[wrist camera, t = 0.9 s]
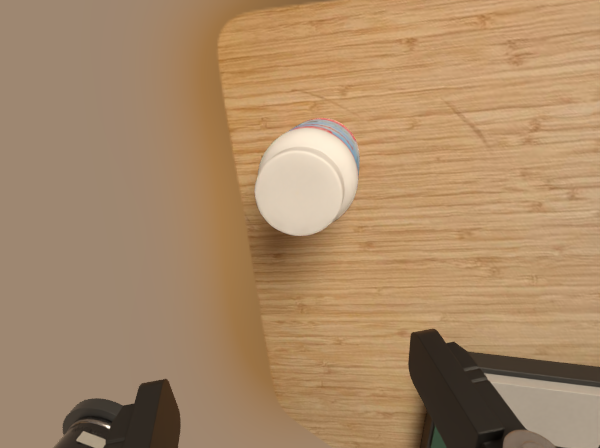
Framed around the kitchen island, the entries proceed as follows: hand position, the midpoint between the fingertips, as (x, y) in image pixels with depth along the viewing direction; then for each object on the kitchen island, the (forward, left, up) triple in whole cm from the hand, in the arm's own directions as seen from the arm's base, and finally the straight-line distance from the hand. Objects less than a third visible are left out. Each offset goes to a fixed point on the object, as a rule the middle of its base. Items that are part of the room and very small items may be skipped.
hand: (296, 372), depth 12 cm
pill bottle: (+3, +1, -20) cm, 20 cm away
